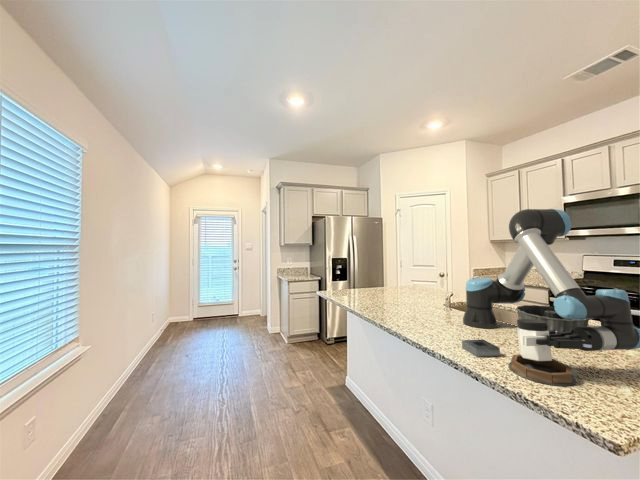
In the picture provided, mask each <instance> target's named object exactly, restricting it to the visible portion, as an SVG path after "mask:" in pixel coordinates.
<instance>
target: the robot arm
mask: <svg viewBox="0 0 640 480" xmlns="http://www.w3.org/2000/svg"><path fill="white" fill-rule="evenodd" d="M508 223H509V224H508V232H509V235H510V236H511V238H512V240H513V241H514V243H515V244H516V245H519V247H518V248H517V250H516V252H515V254H514V255H513V257H512V258H511V260H510V263H508V265H507V266H506V269H505V271H504V272H503V273H500V274H498V276H497V277H496V279H495V280H493V279H492V278H489V277H476V278H470V279H468V280H467V281H466V283H465V285H466V286H465V290H466V291H465V293H466V296H465V297H466V299H465V300H466V301H465V302H466V303H465V304H466V309H465V312H464V314H463V317H462V323H463V324H464V325H467V326H469V327H472V328H479V329H494V328H498V321H497V319H496V317H495V314H494V310H493V304H495V305H496V304H499V305H500V304H502V305H503V304H510V305H511V304H517V303H520V302H521V301H523V300H524V298H525V296H526V287H525V284H524V281H525V280H526V278H527V276H528V275H529V273H530V271H531V270H532V269H533V267H535V269H536V271H537V272H538V273H539V275H540V276H541V278H542V279H543V281H544V282H545V283H546V285H547V286H548V287H547V288H549V290H550V291H551V293H552V294H553V295H554V297H555V299H554V301H553V307H555V311H556V313H557V314H558V315H559V316H561V317H563V318H565V319H576V320H580V319H590V320H592V319H593V320H597V319H598V320H599V323H600V325H589V326H587V327H575V328H573V329H572V331H571V332H570V331H565V332H558V333H557V331H556V330H554V329H553V330H551V331H549V335H546V336H547V339H545V337H544V336H534V335H526V336H521V339H522V344H523V345H525V346H545V345H547V346H551V347H553V348H554V349H565V350H566V349H567V350H581V351H582V352H596V351H597V352H603V351H621V350H622V351H623V350H624V351H630V350H636V349H638V350H639V349H640V328H639V327H638V326H635V324H634V322H633V315H632V307H631V301H630V299H629V295H628V292H627V291H626V290H624V289H607V288H606V289H605V288H604V289H603V288H602V289H599V288H598V289H597V290H596V291H595V295H586V293H585V292H584V291H583V289H582V288H581V287H580V286H579V284H578V283H577V281H575V279H574V278H573V276H572V275H571V274H570V273H569V271H568V270H567V269H566V267H565V265H564V264H563V263H562V261H560V259H559V258H558V257H557V256H556V254H555V253H554V251H553V250H552V249H551V247H550V246H551V245H553V244H554V243H555V241H556V240H557V238H558V237H559V238H560V237H563V236H566V235H568V233H569V232H570V231H571V229H572V221H571V217H570V216H569V213H567V212H566V211H564V210H562V209H555V208H548V209H547V208H546V209H545V208H544V209H543V208H540V209H539V208H537V209H535V208H526V209H522V210H519V211H517V212H516V213H515V214H514V215H513V216H512V217H511V218H510V220H509V222H508Z"/></svg>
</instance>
